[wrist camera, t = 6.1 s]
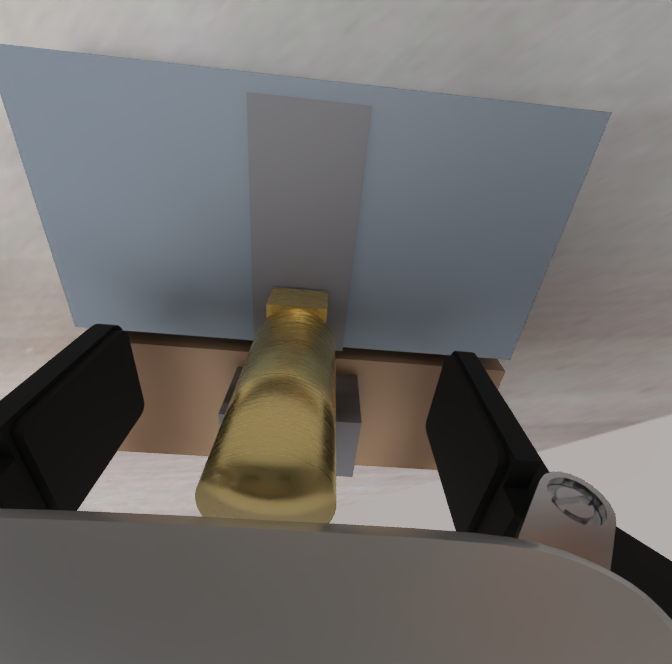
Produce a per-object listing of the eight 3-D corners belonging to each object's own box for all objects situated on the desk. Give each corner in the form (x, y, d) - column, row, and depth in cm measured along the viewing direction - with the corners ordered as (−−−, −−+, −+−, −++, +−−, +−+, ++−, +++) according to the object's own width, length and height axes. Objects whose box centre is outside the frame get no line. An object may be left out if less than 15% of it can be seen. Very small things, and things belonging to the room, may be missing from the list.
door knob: (339, 292, 13) (343, 458, 6) (324, 430, 16) (317, 627, 10) (261, 286, 13) (186, 448, 6) (263, 427, 16) (217, 624, 10)
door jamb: (473, 326, 19) (538, 418, 13) (443, 417, 22) (484, 524, 16) (129, 298, 18) (25, 384, 12) (151, 398, 21) (79, 503, 15)
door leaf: (543, 116, 14) (619, 111, 10) (477, 316, 18) (513, 363, 15) (76, 64, 13) (-26, 40, 9) (126, 287, 18) (70, 330, 14)
